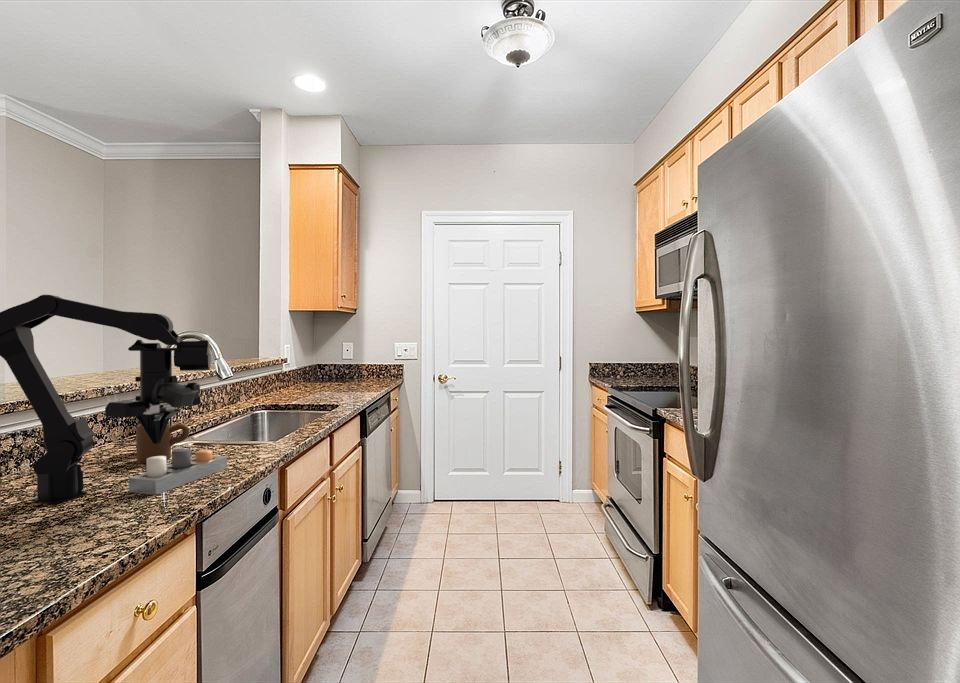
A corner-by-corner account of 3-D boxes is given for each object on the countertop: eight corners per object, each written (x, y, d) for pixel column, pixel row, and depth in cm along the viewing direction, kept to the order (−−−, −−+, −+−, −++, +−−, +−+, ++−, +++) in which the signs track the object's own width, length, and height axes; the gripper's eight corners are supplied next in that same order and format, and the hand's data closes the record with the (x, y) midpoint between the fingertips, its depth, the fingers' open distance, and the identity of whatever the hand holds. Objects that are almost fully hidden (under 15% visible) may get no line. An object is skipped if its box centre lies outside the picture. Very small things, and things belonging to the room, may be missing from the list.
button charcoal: (181, 472, 111) (181, 453, 111) (168, 471, 112) (168, 452, 112) (194, 468, 114) (194, 449, 114) (181, 467, 115) (181, 448, 115)
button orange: (204, 472, 117) (204, 453, 117) (192, 471, 118) (191, 452, 118) (216, 468, 121) (215, 450, 120) (203, 467, 121) (203, 449, 121)
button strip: (155, 494, 102) (155, 480, 102) (129, 492, 104) (128, 478, 104) (227, 468, 122) (227, 456, 122) (203, 466, 124) (203, 454, 123)
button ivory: (156, 481, 104) (155, 460, 104) (142, 479, 105) (142, 459, 105) (170, 476, 108) (170, 456, 108) (157, 475, 109) (157, 455, 109)
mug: (192, 453, 137) (191, 419, 136) (187, 460, 130) (186, 424, 129) (140, 457, 132) (140, 422, 132) (133, 465, 125) (132, 428, 125)
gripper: (148, 376, 95) (148, 456, 96) (220, 369, 114) (220, 436, 114) (102, 374, 98) (103, 452, 98) (179, 368, 116) (180, 434, 117)
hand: (156, 443), depth 107 cm, fingers closed
